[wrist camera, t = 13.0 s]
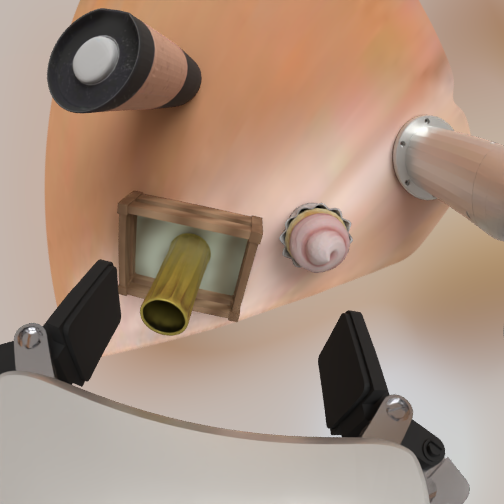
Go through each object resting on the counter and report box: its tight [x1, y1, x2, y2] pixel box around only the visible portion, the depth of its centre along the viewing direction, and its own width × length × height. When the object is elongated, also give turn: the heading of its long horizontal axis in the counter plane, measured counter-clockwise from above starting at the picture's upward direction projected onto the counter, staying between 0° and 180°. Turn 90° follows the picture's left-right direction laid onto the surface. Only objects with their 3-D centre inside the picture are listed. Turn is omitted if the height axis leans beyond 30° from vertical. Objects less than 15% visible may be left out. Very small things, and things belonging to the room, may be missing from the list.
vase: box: [140, 233, 211, 336], centre depth 33 cm, size 6×6×14 cm
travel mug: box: [47, 8, 201, 113], centre depth 20 cm, size 8×8×20 cm
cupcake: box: [279, 203, 353, 273], centre depth 34 cm, size 9×9×10 cm
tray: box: [117, 191, 263, 322], centre depth 38 cm, size 18×14×5 cm
